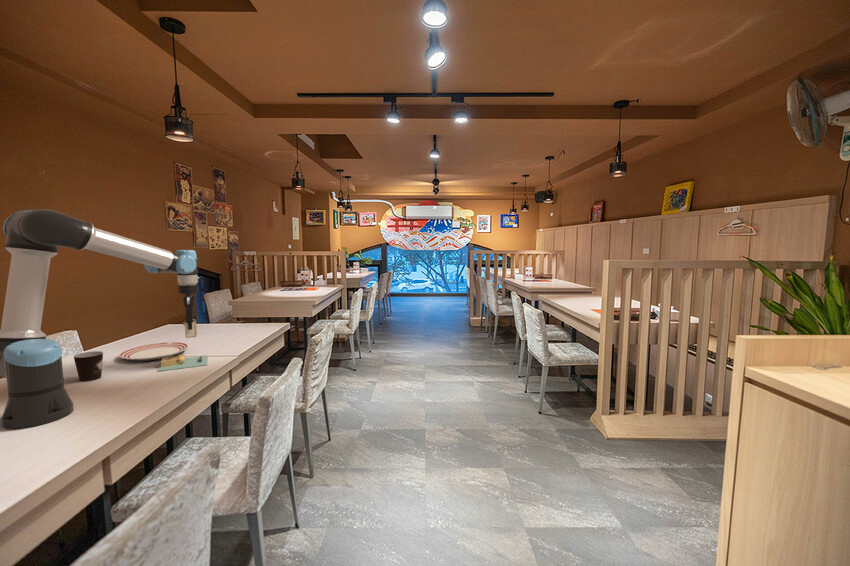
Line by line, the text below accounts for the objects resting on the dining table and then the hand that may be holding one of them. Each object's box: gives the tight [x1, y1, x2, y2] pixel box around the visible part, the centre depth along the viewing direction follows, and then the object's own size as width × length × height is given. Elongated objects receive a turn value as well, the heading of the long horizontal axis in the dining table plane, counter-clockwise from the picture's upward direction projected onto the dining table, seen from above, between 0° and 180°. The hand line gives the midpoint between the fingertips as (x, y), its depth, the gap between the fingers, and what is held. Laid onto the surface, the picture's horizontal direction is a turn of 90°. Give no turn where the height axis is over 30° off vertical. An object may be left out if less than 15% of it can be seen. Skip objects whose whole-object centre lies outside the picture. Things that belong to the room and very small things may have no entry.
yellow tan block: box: [182, 318, 198, 339], centre depth 164 cm, size 6×5×7 cm
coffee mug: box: [73, 350, 104, 383], centre depth 145 cm, size 12×9×10 cm
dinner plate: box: [118, 341, 190, 362], centre depth 176 cm, size 27×27×3 cm
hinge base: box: [157, 353, 209, 373], centre depth 164 cm, size 16×18×4 cm
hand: (191, 334), depth 164 cm, fingers closed on yellow tan block, 6 cm apart
